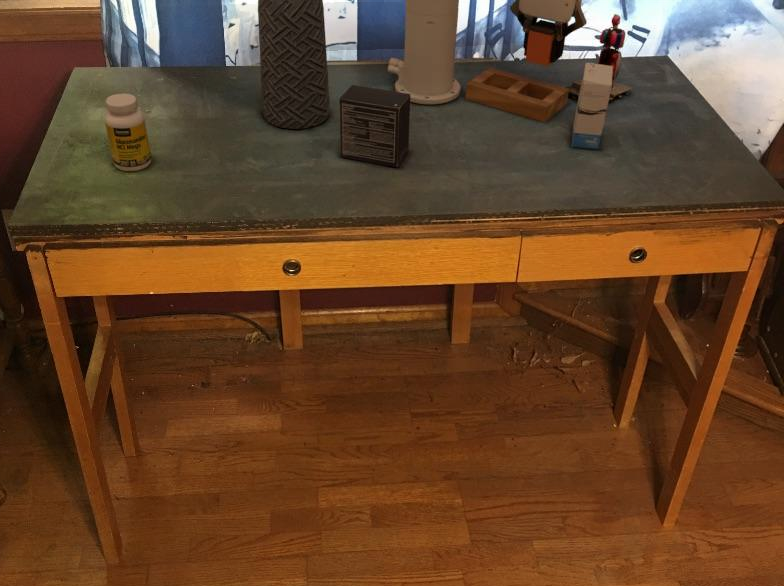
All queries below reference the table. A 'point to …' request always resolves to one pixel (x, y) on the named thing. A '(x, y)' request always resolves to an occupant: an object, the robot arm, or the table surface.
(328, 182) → the table surface
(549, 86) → the wooden compartment tray
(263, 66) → the vase
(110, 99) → the pill bottle
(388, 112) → the small box
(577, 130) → the ink box
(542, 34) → the orange block
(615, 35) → the statue
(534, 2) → the robot arm
